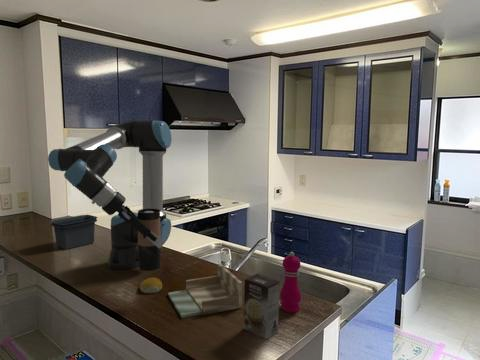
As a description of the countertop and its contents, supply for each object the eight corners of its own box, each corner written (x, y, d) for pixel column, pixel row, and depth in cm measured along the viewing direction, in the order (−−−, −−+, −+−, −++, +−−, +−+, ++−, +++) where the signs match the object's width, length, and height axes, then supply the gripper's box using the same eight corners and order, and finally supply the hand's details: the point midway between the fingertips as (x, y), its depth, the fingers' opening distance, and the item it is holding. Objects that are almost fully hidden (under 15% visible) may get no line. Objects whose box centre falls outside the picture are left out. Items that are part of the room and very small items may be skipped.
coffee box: (242, 329, 113) (243, 278, 111) (255, 321, 118) (256, 272, 116) (266, 340, 107) (267, 286, 105) (279, 331, 112) (280, 280, 110)
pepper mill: (275, 308, 127) (276, 251, 125) (288, 301, 132) (289, 247, 130) (292, 315, 122) (293, 256, 120) (305, 308, 127) (307, 252, 125)
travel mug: (165, 266, 130) (164, 210, 128) (150, 272, 124) (149, 214, 121) (149, 262, 134) (148, 207, 132) (133, 268, 127) (132, 211, 125)
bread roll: (161, 283, 147) (161, 274, 147) (162, 293, 139) (162, 282, 138) (140, 285, 145) (140, 275, 145) (139, 294, 137) (139, 284, 136)
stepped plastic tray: (167, 294, 137) (167, 271, 136) (220, 286, 145) (220, 263, 144) (182, 319, 119) (182, 292, 118) (241, 307, 127) (242, 282, 126)
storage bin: (61, 252, 184) (60, 224, 183) (47, 246, 194) (45, 219, 192) (100, 243, 201) (100, 217, 199) (85, 238, 210) (84, 213, 209)
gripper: (98, 202, 129) (146, 242, 138) (103, 214, 111) (158, 259, 119) (114, 186, 130) (160, 227, 139) (121, 195, 112) (174, 241, 121)
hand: (159, 242), depth 129 cm, fingers closed on travel mug, 7 cm apart
